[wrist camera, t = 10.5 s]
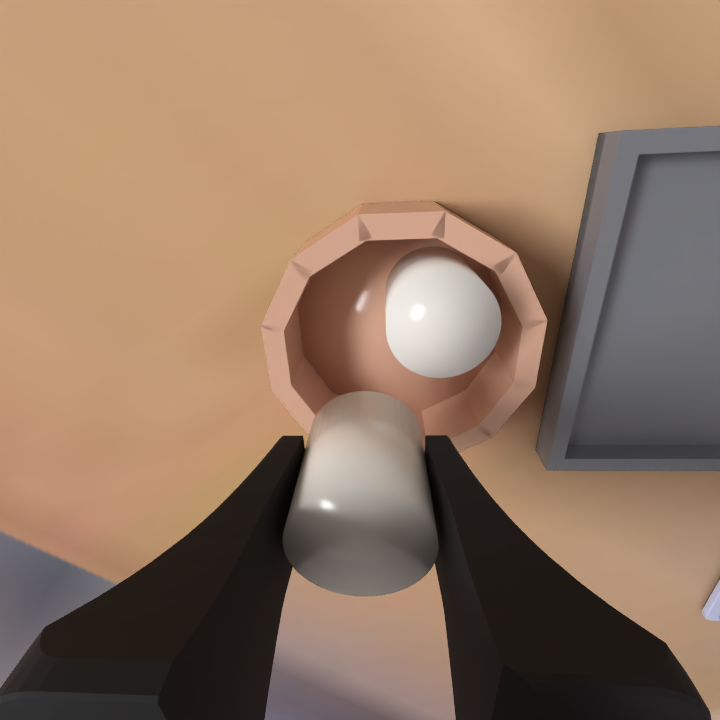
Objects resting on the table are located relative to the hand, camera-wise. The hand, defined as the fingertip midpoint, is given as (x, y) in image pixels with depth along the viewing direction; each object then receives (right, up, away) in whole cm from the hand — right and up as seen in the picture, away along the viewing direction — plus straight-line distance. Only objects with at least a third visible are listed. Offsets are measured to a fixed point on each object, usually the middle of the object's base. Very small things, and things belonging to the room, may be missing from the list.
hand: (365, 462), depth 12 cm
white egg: (+3, +6, +4) cm, 8 cm away
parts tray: (+15, +5, +5) cm, 16 cm away
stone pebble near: (0, 0, +1) cm, 1 cm away
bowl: (+2, +5, +6) cm, 7 cm away
